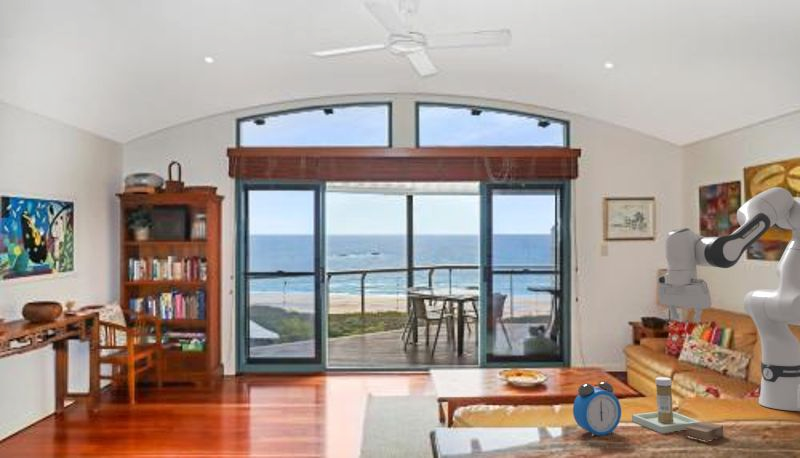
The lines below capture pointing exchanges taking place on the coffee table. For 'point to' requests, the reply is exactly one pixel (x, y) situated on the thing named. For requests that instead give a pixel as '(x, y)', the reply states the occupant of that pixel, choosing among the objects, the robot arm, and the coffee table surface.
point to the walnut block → (704, 431)
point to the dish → (652, 422)
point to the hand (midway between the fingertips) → (686, 320)
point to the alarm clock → (597, 408)
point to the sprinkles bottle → (664, 400)
